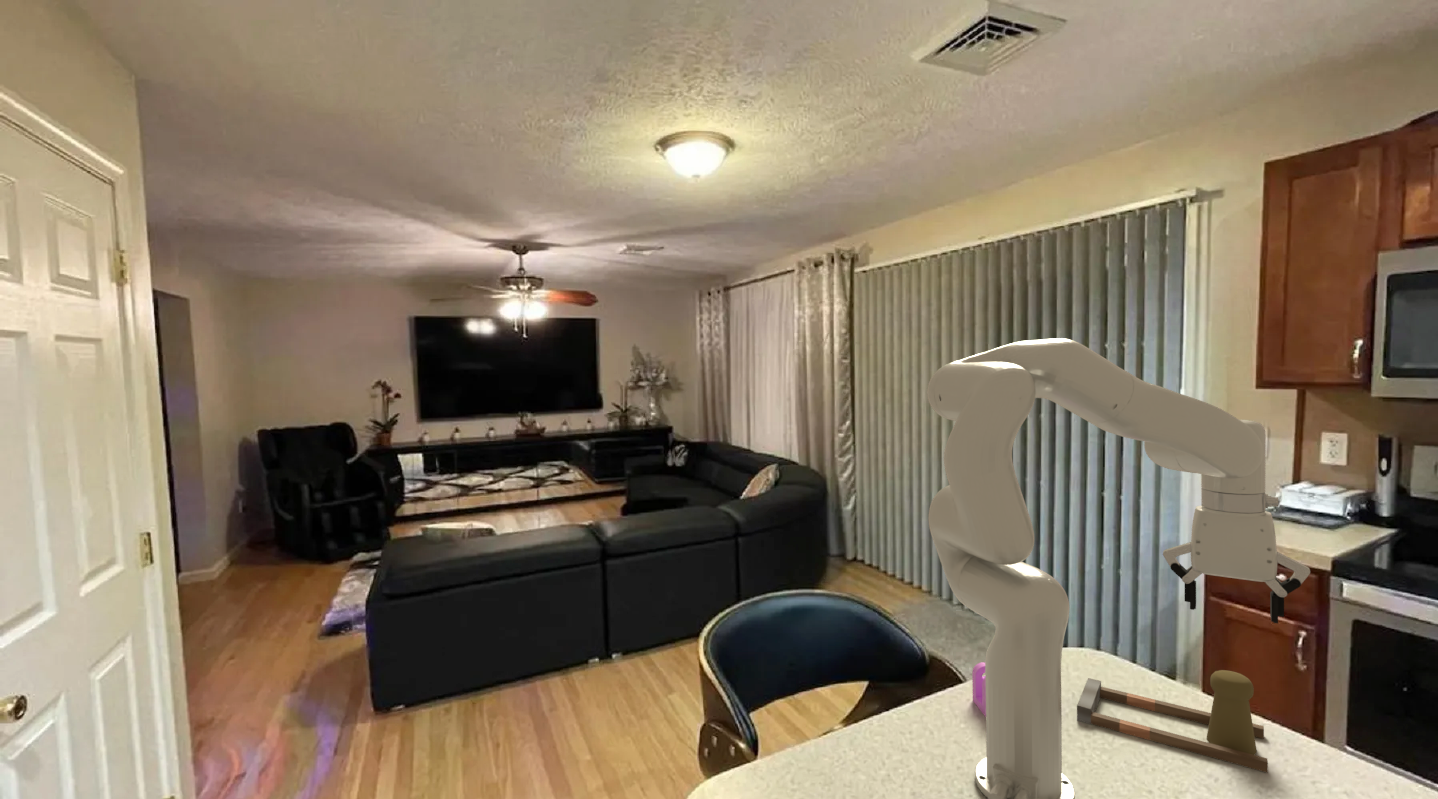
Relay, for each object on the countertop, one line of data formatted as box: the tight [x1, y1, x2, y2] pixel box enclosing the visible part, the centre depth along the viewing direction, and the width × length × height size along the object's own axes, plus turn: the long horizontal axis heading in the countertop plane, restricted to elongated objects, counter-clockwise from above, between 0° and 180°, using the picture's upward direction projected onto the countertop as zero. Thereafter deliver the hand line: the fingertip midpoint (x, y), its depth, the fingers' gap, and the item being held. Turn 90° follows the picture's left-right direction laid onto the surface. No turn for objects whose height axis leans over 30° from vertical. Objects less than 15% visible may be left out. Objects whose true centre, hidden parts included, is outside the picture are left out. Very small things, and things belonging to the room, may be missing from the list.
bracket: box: [971, 661, 986, 718], centre depth 110 cm, size 13×6×7 cm, turn 90°
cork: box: [1206, 669, 1257, 755], centre depth 98 cm, size 6×6×11 cm
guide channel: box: [1076, 677, 1269, 773], centre depth 103 cm, size 11×24×2 cm, turn 52°
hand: (1232, 613), depth 97 cm, fingers open, 9 cm apart
